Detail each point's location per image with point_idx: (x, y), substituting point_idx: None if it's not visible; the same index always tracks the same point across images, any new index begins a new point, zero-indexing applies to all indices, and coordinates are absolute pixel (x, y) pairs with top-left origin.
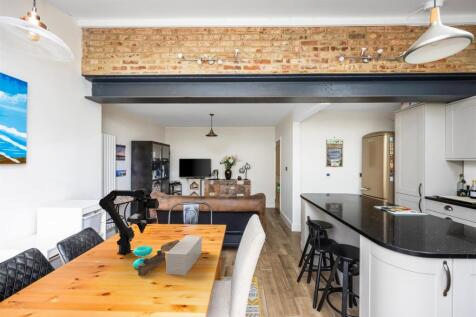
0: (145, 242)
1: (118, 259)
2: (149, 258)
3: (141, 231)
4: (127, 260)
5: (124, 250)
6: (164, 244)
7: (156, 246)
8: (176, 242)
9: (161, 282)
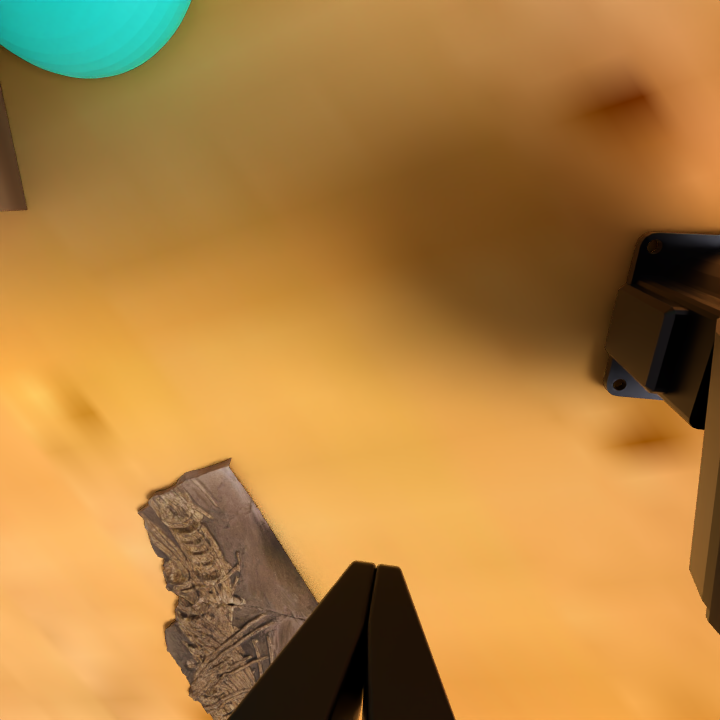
0: (602, 695)
1: (650, 25)
2: (2, 23)
3: (337, 612)
4: (460, 43)
5: (704, 274)
6: None
7: None
8: None
9: None
